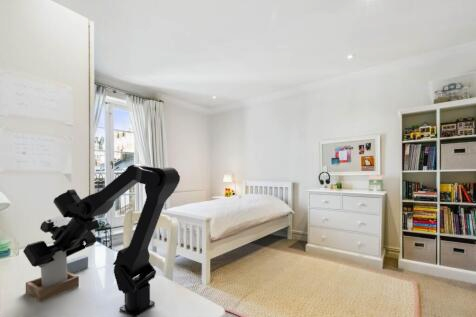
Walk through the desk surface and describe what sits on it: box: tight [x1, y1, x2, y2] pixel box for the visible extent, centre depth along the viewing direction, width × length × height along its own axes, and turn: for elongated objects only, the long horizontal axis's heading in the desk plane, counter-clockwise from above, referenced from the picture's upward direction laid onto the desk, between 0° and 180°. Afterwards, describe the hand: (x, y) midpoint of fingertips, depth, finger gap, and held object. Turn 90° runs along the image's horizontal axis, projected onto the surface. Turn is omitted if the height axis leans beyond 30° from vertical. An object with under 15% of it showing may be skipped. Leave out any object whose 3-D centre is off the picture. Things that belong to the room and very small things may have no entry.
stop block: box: [67, 254, 89, 274], centre depth 86 cm, size 3×8×4 cm, turn 150°
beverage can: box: [40, 244, 68, 288], centre depth 74 cm, size 6×6×12 cm
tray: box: [25, 271, 80, 303], centre depth 73 cm, size 10×10×3 cm
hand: (50, 262), depth 74 cm, fingers closed on beverage can, 6 cm apart
